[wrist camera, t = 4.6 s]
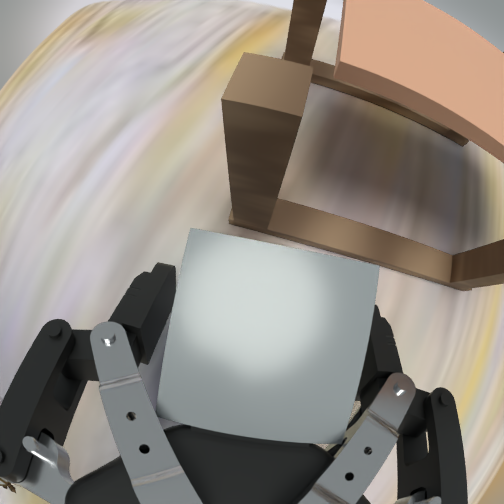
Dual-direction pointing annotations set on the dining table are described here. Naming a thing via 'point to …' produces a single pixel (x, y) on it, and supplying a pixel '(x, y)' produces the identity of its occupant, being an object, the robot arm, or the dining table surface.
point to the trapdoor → (425, 65)
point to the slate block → (266, 340)
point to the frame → (279, 150)
